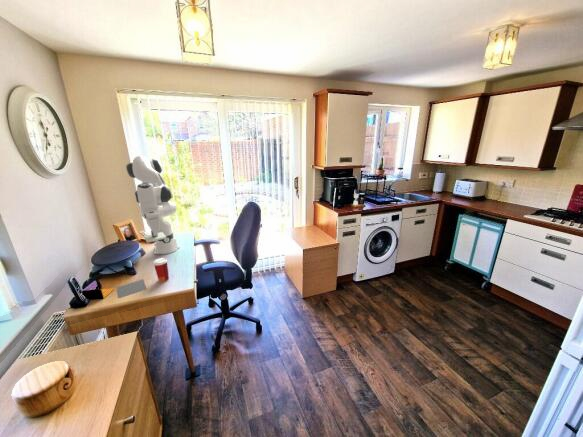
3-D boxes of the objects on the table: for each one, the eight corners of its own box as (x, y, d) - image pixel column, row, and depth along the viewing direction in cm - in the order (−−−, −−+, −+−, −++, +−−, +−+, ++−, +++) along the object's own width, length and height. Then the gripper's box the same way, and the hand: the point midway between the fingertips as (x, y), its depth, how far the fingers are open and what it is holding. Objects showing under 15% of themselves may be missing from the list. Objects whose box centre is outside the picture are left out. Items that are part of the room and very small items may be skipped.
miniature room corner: (81, 303, 130) (77, 292, 128) (96, 290, 141) (93, 280, 139) (104, 301, 131) (101, 291, 129) (117, 289, 142) (115, 278, 140)
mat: (116, 288, 142) (116, 287, 142) (143, 279, 151) (143, 279, 150) (118, 299, 132) (118, 298, 132) (147, 290, 140) (146, 289, 140)
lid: (144, 237, 142) (142, 230, 141) (162, 233, 148) (161, 226, 146) (147, 242, 134) (145, 235, 133) (166, 238, 140) (165, 231, 139)
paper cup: (168, 275, 155) (164, 256, 151) (172, 280, 150) (168, 260, 146) (155, 280, 150) (150, 260, 146) (159, 285, 145) (154, 264, 140)
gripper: (141, 209, 142) (145, 231, 146) (146, 217, 127) (151, 241, 131) (153, 207, 146) (157, 228, 150) (159, 214, 131) (164, 238, 135)
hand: (154, 234), depth 141 cm, fingers closed on lid, 3 cm apart
